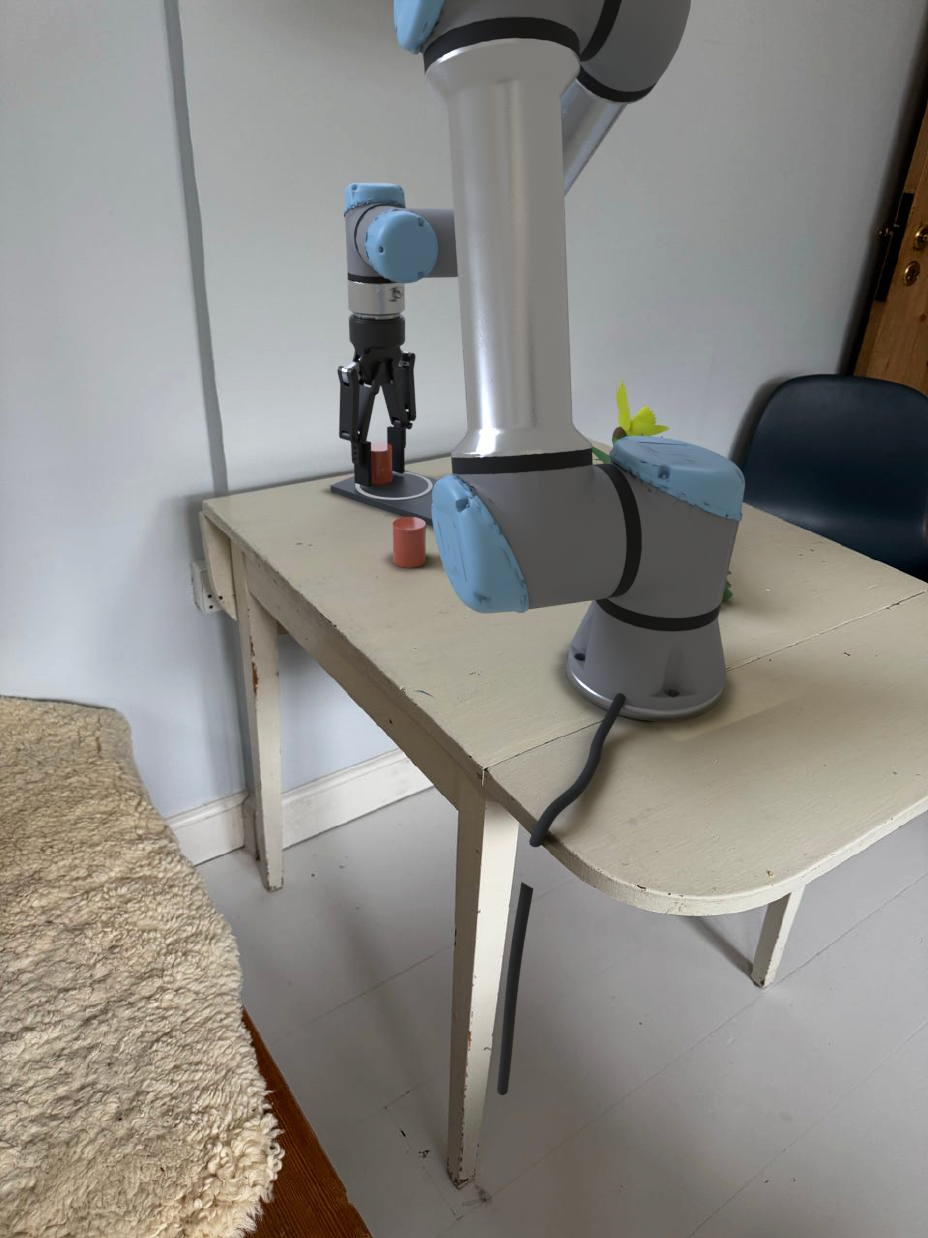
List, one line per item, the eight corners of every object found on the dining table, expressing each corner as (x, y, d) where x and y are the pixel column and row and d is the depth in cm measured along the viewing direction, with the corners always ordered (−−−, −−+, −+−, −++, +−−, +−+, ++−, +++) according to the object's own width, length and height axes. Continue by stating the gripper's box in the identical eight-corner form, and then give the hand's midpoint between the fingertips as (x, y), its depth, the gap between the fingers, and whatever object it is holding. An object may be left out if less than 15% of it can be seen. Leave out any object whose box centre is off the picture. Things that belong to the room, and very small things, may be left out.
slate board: (463, 536, 110) (464, 528, 109) (330, 491, 122) (330, 484, 121) (513, 509, 118) (514, 501, 118) (384, 469, 130) (384, 462, 130)
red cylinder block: (411, 571, 101) (411, 533, 98) (386, 561, 103) (385, 524, 100) (432, 559, 104) (432, 522, 101) (407, 550, 106) (407, 513, 103)
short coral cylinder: (380, 486, 121) (379, 453, 119) (359, 479, 123) (358, 447, 121) (398, 479, 124) (397, 446, 122) (377, 472, 126) (377, 440, 123)
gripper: (347, 328, 103) (353, 503, 114) (443, 307, 117) (440, 465, 128) (303, 319, 107) (314, 490, 118) (402, 300, 120) (403, 454, 132)
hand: (380, 477), depth 123 cm, fingers open, 7 cm apart
